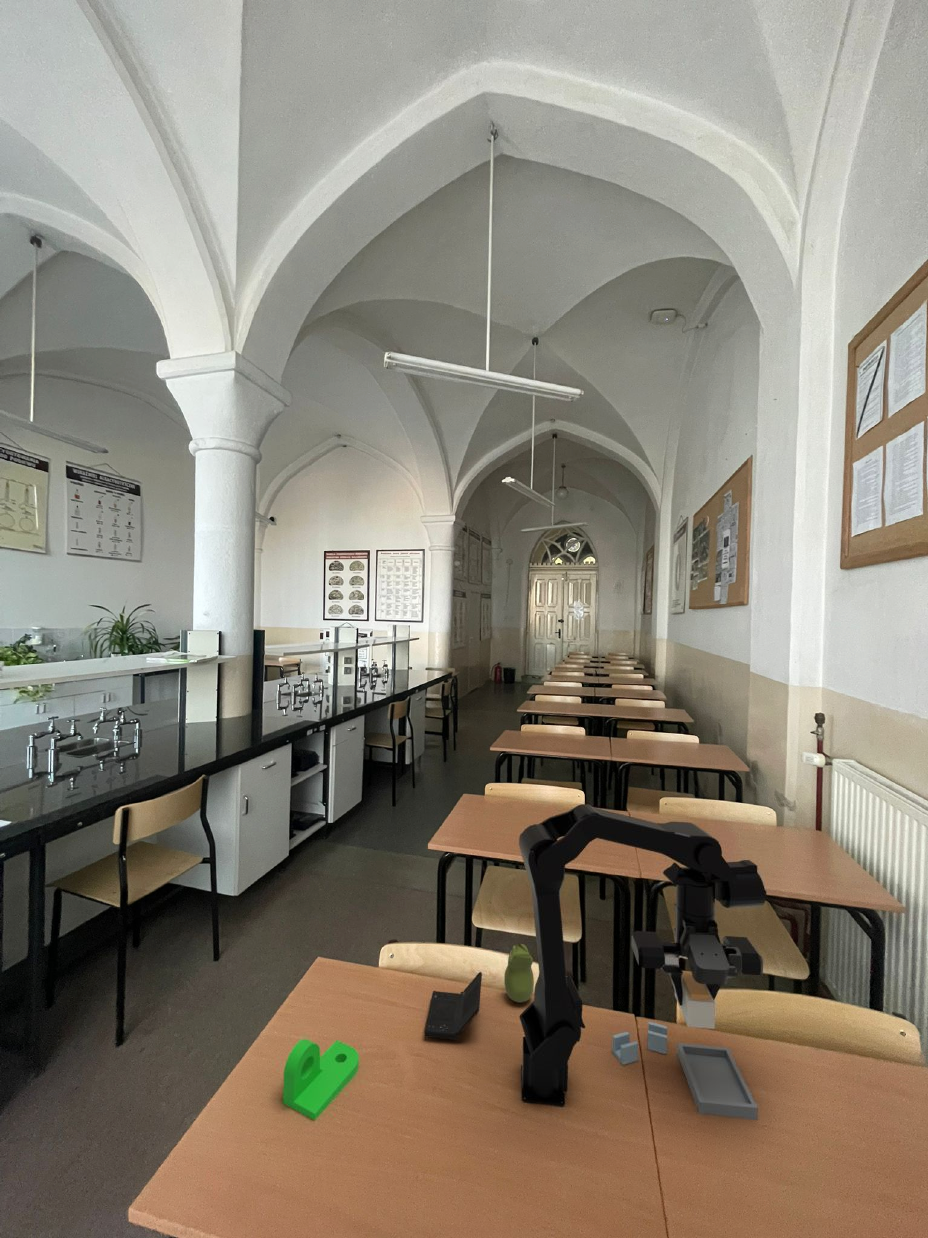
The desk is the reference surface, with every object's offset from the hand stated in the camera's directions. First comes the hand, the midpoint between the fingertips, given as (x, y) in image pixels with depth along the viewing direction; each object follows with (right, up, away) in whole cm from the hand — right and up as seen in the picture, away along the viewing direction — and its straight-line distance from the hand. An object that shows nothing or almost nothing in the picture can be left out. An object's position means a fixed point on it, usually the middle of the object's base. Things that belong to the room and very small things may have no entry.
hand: (694, 1005), depth 87 cm
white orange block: (0, -1, 0) cm, 1 cm away
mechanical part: (-58, -11, -3) cm, 59 cm away
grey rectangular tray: (+3, -12, -1) cm, 12 cm away
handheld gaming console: (-42, -11, +11) cm, 45 cm away
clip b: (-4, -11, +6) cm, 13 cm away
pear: (-26, -11, +17) cm, 33 cm away
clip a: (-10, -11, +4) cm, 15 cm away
